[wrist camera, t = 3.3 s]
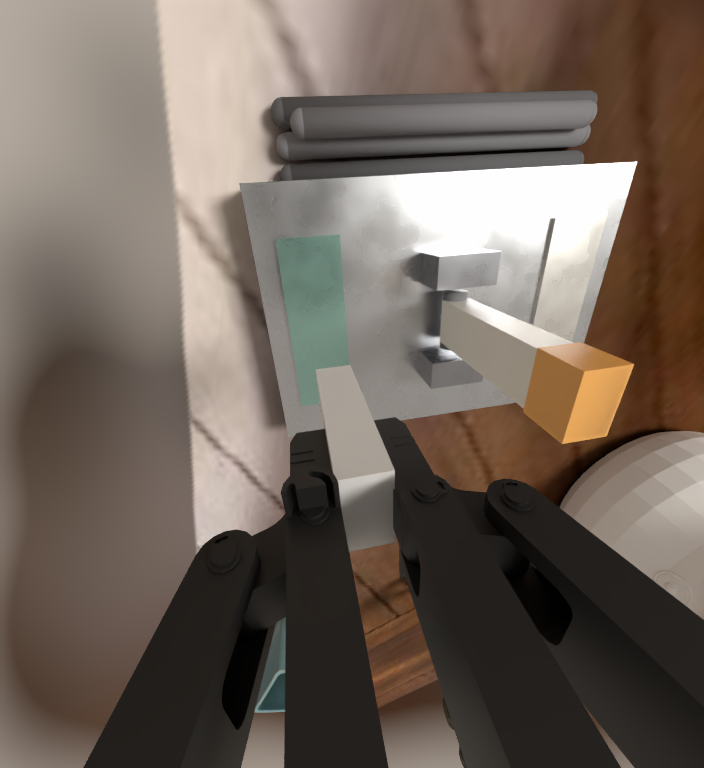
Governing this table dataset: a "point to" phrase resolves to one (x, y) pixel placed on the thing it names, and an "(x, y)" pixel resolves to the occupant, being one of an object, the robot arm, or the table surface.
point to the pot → (650, 509)
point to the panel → (395, 265)
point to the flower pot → (274, 674)
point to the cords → (430, 131)
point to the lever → (536, 368)
